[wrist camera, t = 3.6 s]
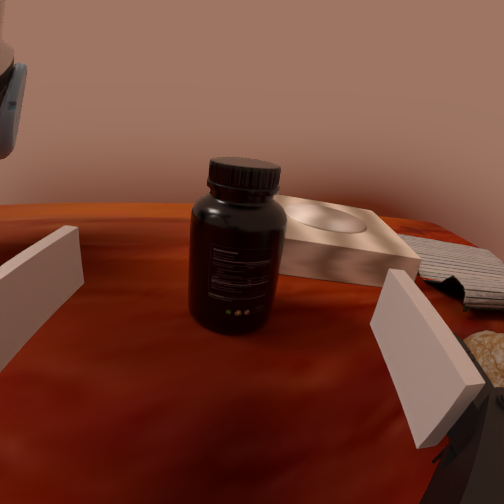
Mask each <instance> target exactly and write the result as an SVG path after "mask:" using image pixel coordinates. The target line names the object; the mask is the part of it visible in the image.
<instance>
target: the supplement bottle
mask: <svg viewBox="0 0 504 504" xmlns="http://www.w3.org/2000/svg"><path fill="white" fill-rule="evenodd" d="M280 172H281V168H280V166H279V165H276V164H273V163H270V162H266V161H261V160H256V159H249V158H239V157H217V158H212V159H210V164H209V177H208V178H207V186H208V187H209V188H210V192H209V193H207V194H205V195H204V196H202V197H201V198H199V199H198V200H197V201H196V203H195V204H194V206H193V208H192V212H191V225H190V247H189V281H188V305H189V310H190V313H191V314H192V316H193V317H194V319H195V320H196V321H197V322H198V323H200V324H201V325H202V326H204V327H206V328H208V329H210V330H212V331H215V332H219V333H224V334H243V333H248V332H251V331H254V330H256V329H258V328H260V327H261V326H263V325H264V324H265V323H266V322H267V321H268V319H269V317H270V315H271V312H272V307H273V302H274V297H275V292H276V286H277V281H278V275H279V270H280V264H281V258H282V253H283V247H284V241H285V235H286V229H287V216H286V213H285V211H284V209H283V207H282V206H281V205H280V204H279V203H278V202H276V201H275V200H274V195H276V194H278V193H279V188H280V186H279V179H280Z"/></svg>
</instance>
